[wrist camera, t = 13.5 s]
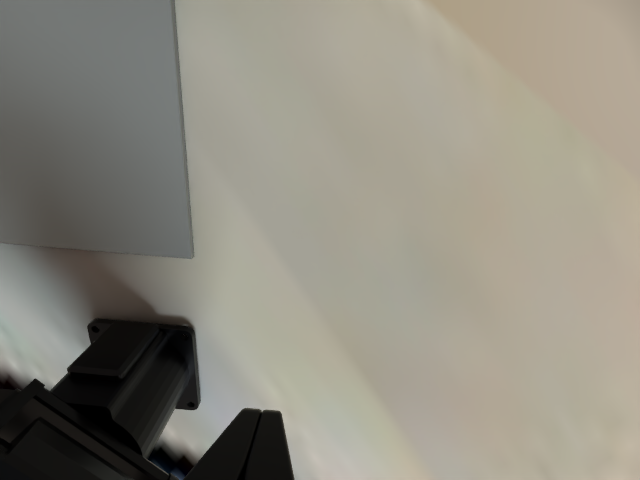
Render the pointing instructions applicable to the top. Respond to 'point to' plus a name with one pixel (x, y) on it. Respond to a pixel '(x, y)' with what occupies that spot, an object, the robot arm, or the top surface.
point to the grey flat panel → (93, 127)
